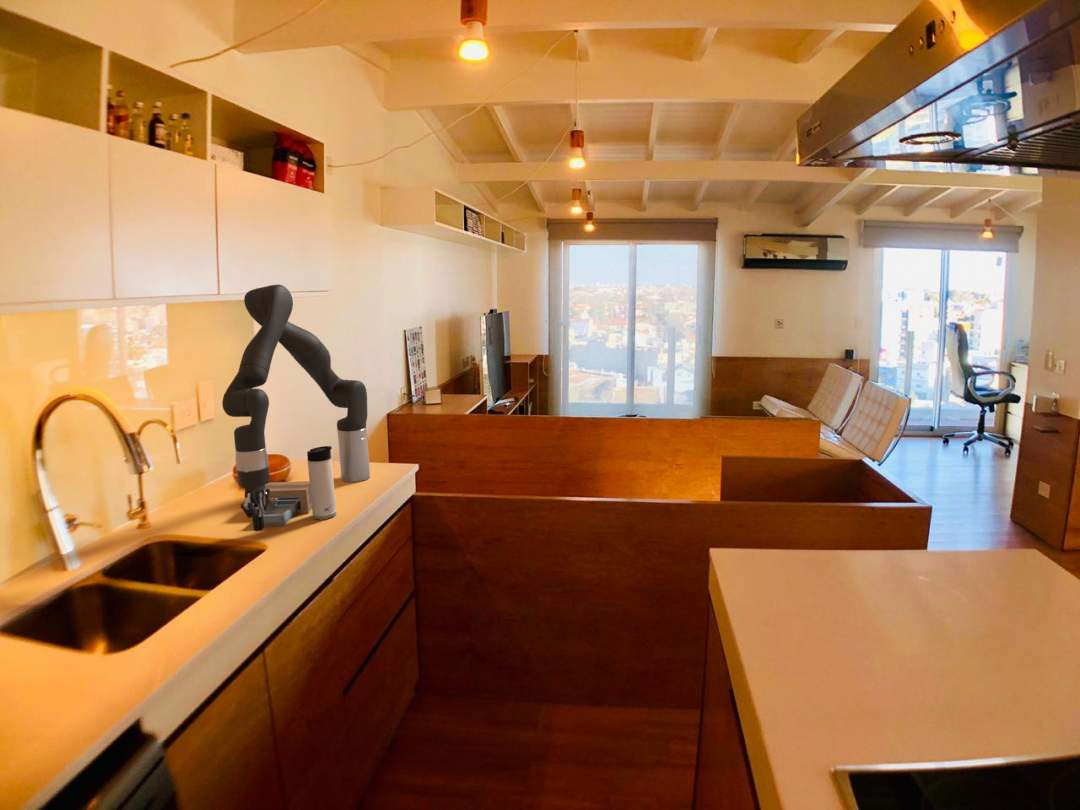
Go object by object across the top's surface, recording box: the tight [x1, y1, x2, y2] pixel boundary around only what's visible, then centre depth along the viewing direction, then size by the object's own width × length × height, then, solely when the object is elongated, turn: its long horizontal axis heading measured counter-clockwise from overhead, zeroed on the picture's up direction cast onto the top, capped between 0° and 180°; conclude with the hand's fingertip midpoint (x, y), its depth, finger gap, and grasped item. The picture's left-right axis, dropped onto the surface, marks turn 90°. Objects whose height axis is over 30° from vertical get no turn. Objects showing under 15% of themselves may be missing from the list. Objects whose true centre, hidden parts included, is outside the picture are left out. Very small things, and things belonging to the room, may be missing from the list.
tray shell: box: [263, 498, 301, 528], centre depth 178 cm, size 16×8×3 cm, turn 2°
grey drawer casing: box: [265, 480, 312, 515], centre depth 183 cm, size 8×15×7 cm, turn 92°
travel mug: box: [306, 445, 337, 520], centre depth 175 cm, size 6×7×20 cm
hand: (259, 529), depth 165 cm, fingers closed
